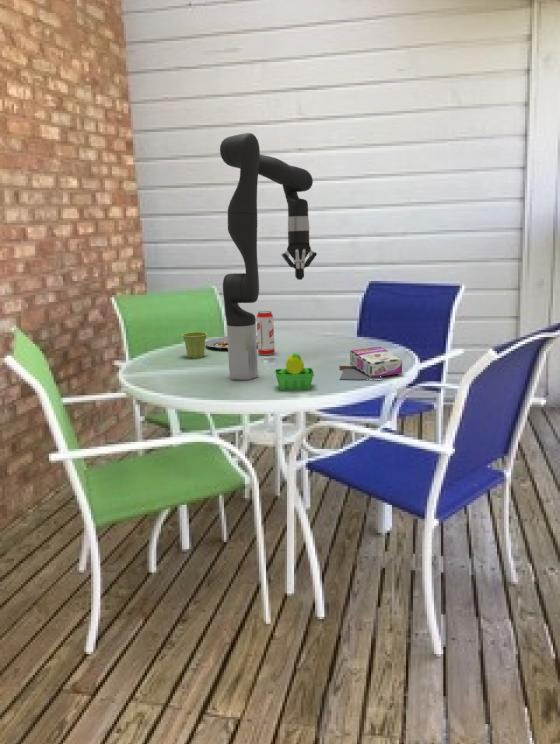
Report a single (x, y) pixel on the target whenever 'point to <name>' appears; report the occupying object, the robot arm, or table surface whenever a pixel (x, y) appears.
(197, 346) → the plant pot
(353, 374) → the mat
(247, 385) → the table surface
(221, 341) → the food plate
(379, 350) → the candy bar box
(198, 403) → the table surface
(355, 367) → the strip
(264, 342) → the beer can
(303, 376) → the fruit basket
